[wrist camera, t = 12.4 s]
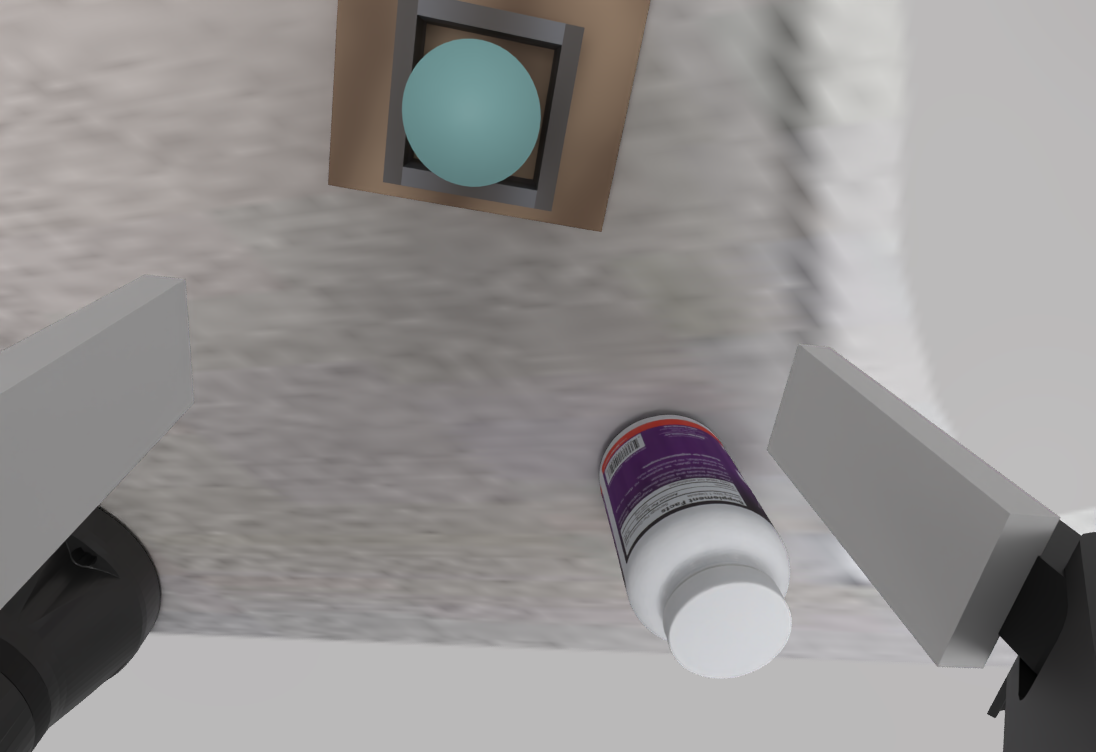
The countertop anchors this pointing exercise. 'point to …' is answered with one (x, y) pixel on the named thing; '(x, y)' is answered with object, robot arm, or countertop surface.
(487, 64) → the dowel
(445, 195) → the bracket board
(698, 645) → the pill bottle
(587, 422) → the countertop surface
